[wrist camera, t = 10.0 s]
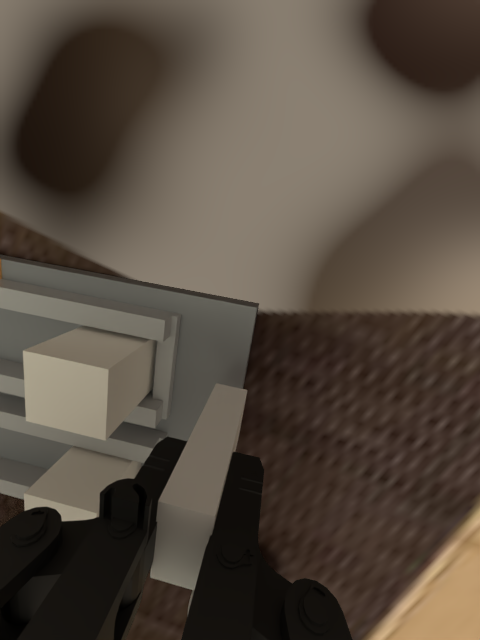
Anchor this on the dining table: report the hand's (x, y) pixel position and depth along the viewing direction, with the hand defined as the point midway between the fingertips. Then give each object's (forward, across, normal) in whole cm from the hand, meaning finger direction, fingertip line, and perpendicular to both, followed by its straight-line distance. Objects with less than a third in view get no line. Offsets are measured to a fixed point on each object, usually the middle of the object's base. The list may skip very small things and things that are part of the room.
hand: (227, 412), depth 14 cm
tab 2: (+3, -7, -8) cm, 12 cm away
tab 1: (+3, -7, 0) cm, 8 cm away
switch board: (+5, -12, -4) cm, 14 cm away
